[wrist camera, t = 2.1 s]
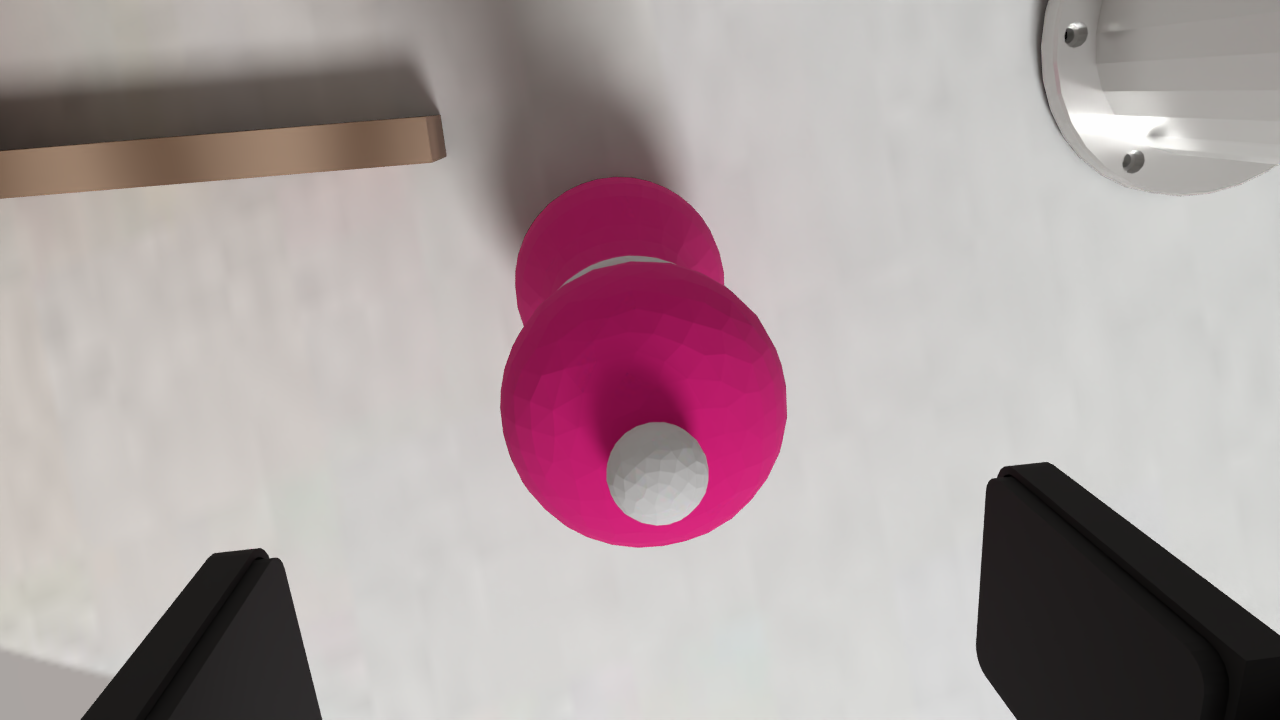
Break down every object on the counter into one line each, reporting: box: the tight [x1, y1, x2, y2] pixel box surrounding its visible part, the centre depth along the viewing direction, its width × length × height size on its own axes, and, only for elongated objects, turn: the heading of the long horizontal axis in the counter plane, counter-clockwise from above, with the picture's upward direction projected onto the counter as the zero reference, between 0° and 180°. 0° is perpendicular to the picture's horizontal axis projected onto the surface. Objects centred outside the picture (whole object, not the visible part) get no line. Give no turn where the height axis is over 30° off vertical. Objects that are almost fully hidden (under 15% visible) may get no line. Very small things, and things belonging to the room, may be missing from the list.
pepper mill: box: [500, 177, 787, 548], centre depth 23 cm, size 7×7×20 cm
